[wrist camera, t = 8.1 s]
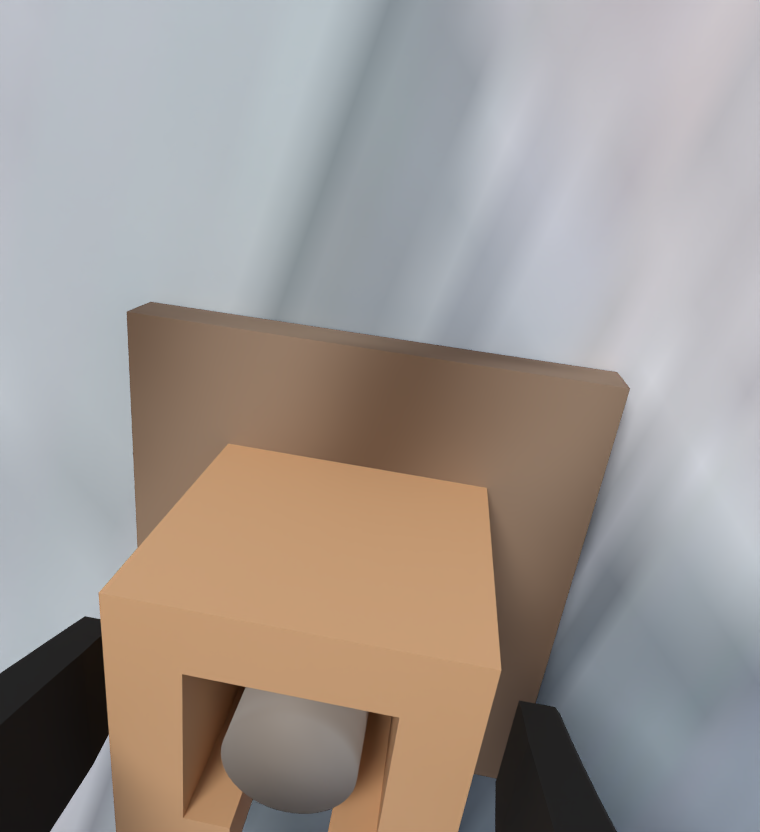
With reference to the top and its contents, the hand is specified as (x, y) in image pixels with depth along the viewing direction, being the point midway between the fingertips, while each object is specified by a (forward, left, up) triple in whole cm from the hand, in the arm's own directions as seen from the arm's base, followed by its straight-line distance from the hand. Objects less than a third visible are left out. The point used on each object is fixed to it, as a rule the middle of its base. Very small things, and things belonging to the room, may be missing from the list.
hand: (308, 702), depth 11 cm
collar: (0, 0, -3) cm, 4 cm away
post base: (0, 0, -4) cm, 4 cm away
